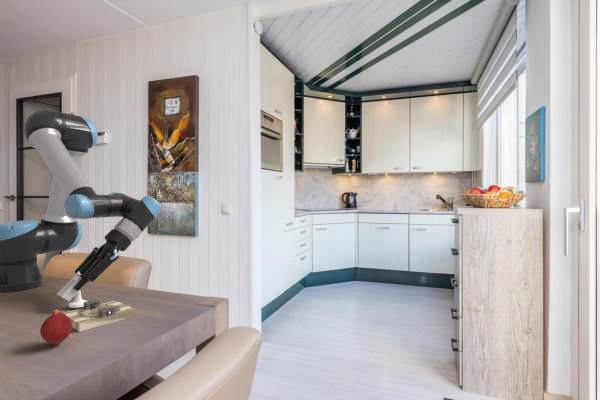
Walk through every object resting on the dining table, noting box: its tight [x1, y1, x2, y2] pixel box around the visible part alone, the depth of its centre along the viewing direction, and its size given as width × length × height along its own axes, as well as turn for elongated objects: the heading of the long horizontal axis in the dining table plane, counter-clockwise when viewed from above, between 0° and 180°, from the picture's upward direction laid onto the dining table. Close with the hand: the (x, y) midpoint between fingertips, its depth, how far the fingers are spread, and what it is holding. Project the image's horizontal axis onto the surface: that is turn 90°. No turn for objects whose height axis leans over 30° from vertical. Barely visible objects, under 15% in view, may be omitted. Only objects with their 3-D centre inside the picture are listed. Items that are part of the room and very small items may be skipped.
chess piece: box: [67, 272, 88, 309], centre depth 101 cm, size 5×5×10 cm
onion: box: [39, 309, 73, 346], centre depth 76 cm, size 6×6×8 cm
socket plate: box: [62, 299, 137, 333], centre depth 92 cm, size 12×14×4 cm
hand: (63, 297), depth 98 cm, fingers closed on chess piece, 2 cm apart
